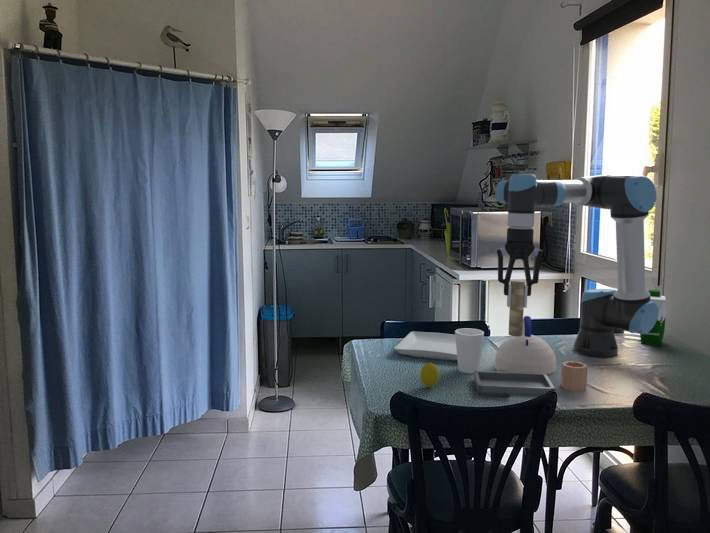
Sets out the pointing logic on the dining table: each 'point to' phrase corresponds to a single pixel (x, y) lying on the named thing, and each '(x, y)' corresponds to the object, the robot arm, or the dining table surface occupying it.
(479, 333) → the foam cup
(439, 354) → the square plate
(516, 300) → the peg
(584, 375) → the pink octagonal cup
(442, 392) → the dining table surface
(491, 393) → the tray
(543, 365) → the kettle
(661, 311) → the milk carton
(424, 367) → the lemon
